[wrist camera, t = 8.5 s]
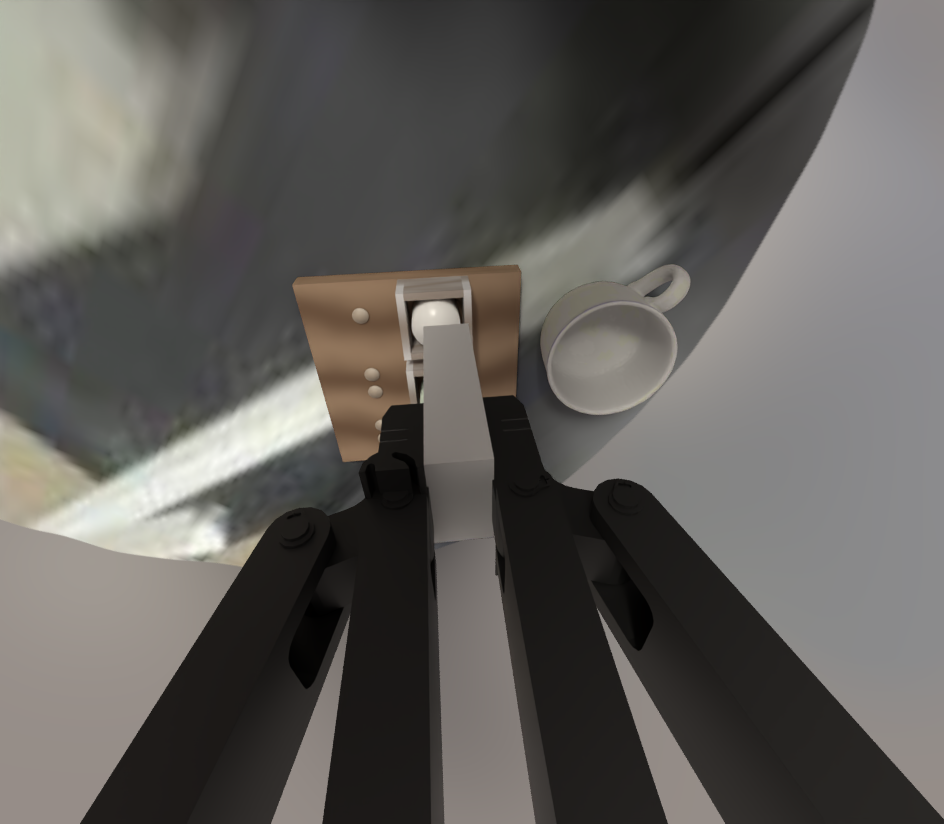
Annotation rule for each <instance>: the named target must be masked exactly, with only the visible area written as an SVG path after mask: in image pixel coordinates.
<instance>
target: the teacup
mask: <svg viewBox="0 0 944 824" xmlns="http://www.w3.org/2000/svg"><path fill="white" fill-rule="evenodd" d="M671 280H672V283H671V285H670V286H669V287H668V289H667V290H666V291H665V292H663V293H662V294H661V295H659V296H657V297H644V296H645V295H646V294H648V293H649V292H651V291H652V290H654V289H655V288H657V287H658V286H660V285H662V284H664V283H666V282H668V281H671ZM689 288H690V277H689V275H688V273H687V272H686V270H684V269H683V268H682V267H680V266H677V265H674V264H670V265H665V266H662V267H660V268H657V269H655V270H653V271H652V272H650V273H648V274H647V275H645V276H644V277H643V278H641V279H640V280H638V281H635V282H632V283H630V284H629V285H628V286H625V285H622V284H618V283H614V282H607V281H600V282H593V283H588V284H585V285H582V286H580V287H577V288H575V289H573V290H571V291H570V292H568V293H567V294H565V295H564V296H563V297H562V298H561V299H559V300H558V301H557V302H556V304H555V305H554V306H553V307H552V308H551V310H550V312H549V313H548V315H547V317H546V319H545V321H544V324H543V327H542V331H541V339H540V346H541V353H542V358H543V361H544V365H545V368H546V371H547V378H548V381H549V384H550V386H551V389H552V391H553V392H554V393H555V395H556V396H557V398H558V399H559V400H560V401H561V402H562V403H564V404H565V405H566V406H567V407H570V408H571V409H573V410H576V411H578V412H581V413H586V414H591V415H606V414H613V413H617V412H621V411H625V410H627V409H630V408H632V407H634V406H636V405H638V404H640V403H642V402H643V401H645V400H646V399H648V398H649V397H650V396H652V395H653V394H654V393H655V392H656V391H657V390H658V389H659V388H660V387H661V385H662V384H663V383H664V382H665V381H666V379H667V378H668V376H669V374H670V373H671V371H672V369H673V367H674V364H675V360H676V356H677V338H676V335H675V332H674V329H673V327H672V326H671V324H670V323H669V321H668V320H667V318H666V317H665V316H664V315H663V314H662V313H664V312H665V311H668V310H670V309H671V308H673V307H674V306H676V305H677V304H678V303H679V302H680V301H681V300H682V299H683V298H684V297H685V296H686V294H687V292H688V290H689Z"/></svg>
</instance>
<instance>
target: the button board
mask: <svg viewBox="0 0 944 824" xmlns="http://www.w3.org/2000/svg"><path fill="white" fill-rule="evenodd" d="M292 286H293V289H294V293H295V296H296V300H297V303H298V307H299V310H300V314H301V317H302V321H303V324H304V328H305V331H306V335H307V338H308V342H309V345H310V348H311V352H312V355H313V359H314V362H315V366H316V369H317V373H318V376H319V380H320V383H321V387H322V390H323V394H324V397H325V401H326V404H327V408H328V411H329V414H330V418H331V421H332V425H333V428H334V432H335V435H336V439H337V442H338V446H339V449H340V453H341V456H342V460H343V462H348V461H360V460H367V459H368V458H369V457H370V456H372V455H374V454H376V453H378V449H379V443H380V433H381V424H382V417H383V416H384V414H385V413H386V412H387V410H388V409H389V408H390V406H391V405H404V404H417V403H420V385H421V382H422V380H423V379H424V369H423V345H422V344H421V343H420V342H418V340H417V339H416V338H415V336H414V334H413V332H412V308H413V304H414V302H415V300H430V299H447V298H454V299H455V301H456V303H457V306H458V311H459V317H460V324H466V323H468V325H469V330H470V335H471V341H472V346H473V351H474V356H475V362H476V367H477V372H478V377H479V382H480V388H481V393H482V397H494V396H507V395H514V396H515V397H516V381H517V358H518V335H519V312H520V289H521V270H520V268H519V267H518V265H504V266H487V267H469V268H452V269H434V270H417V271H400V272H382V273H365V274H347V275H330V276H313V277H297V279H296V280H295V282H294V283H293V285H292Z"/></svg>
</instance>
